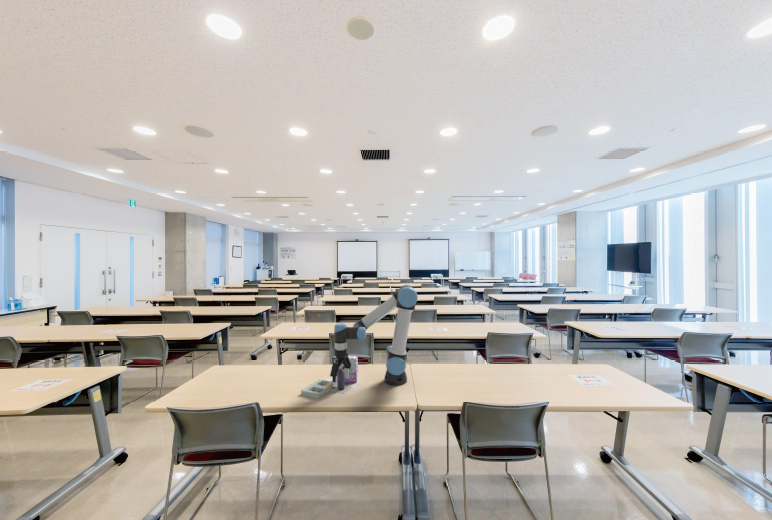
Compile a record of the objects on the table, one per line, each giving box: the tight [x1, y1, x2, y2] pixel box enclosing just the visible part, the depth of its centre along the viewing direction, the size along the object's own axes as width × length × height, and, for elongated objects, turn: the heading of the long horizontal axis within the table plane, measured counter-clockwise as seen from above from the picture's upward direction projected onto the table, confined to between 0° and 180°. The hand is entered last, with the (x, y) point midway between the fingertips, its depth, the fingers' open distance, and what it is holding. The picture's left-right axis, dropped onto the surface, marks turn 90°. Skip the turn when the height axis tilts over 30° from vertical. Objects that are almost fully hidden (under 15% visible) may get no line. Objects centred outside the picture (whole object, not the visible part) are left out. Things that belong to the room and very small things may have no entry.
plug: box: [337, 369, 346, 390], centre depth 197 cm, size 4×4×12 cm
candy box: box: [336, 355, 359, 384], centre depth 210 cm, size 14×6×16 cm, turn 84°
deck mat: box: [330, 385, 353, 395], centre depth 197 cm, size 10×10×1 cm
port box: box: [300, 379, 334, 399], centre depth 196 cm, size 12×18×3 cm, turn 156°
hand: (341, 382), depth 197 cm, fingers open, 13 cm apart
